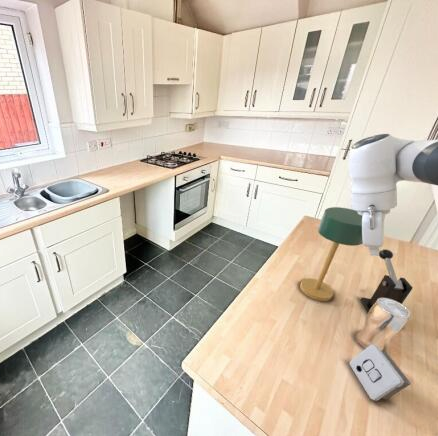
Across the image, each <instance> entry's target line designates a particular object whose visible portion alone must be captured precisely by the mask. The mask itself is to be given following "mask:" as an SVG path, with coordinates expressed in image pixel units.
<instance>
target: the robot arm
mask: <svg viewBox="0 0 438 436" xmlns="http://www.w3.org/2000/svg"><path fill="white" fill-rule="evenodd" d="M347 169H348V177H349V179H350V183H351V184H350V188H349V196H350V209H352V210H356V211H357V212H358V214H359V215H362V241H363V243H362V245H363V246H364V247H366V248H367V247H368V249H369V255H370V256H374V257H375V256H379V252H380V248H382V247H383V246H384V238H385V237H384V235H385V234H384V233H385V217H386V216H387V215H389V214H390V213H391V209H395V208H396V207H398V192H397V191H398V190H397V183H398V182H402V181H404V182H405V181H406V182H412V183H423V184H427V185H432V186H433V185H434V186H438V139H426V140H425V139H424V140H412V139H404V138H399V137H396V136H392V135H391V134H389V133H380V134H375V135H372V136H369V137H368V136H367V137H365V138H362V139H360V140H358V141H356V142H355V143H354V144H352V145H351V147H350V149H349V153H348V168H347Z"/></svg>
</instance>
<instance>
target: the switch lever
mask: <svg viewBox="0 0 438 436" xmlns="http://www.w3.org/2000/svg"><path fill="white" fill-rule="evenodd" d="M378 256H379V258H380V259H382V260H384V263H385V266H386V270H387V273H388V276H389V277H390V278H391V279H392V281H393V282H394V283H395V284H396V286H395V288H394V289H393V291H397V292H399V291H401V290H403V289H404V288H403V285H402V282H401V280H399V279H397V275H396V273H395V269H394V266H393V263H392V260H391V259H392V258H393V256H394V253H393V252H392V250H390V249H387V248H385V249H381V250H379V255H378Z"/></svg>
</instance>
